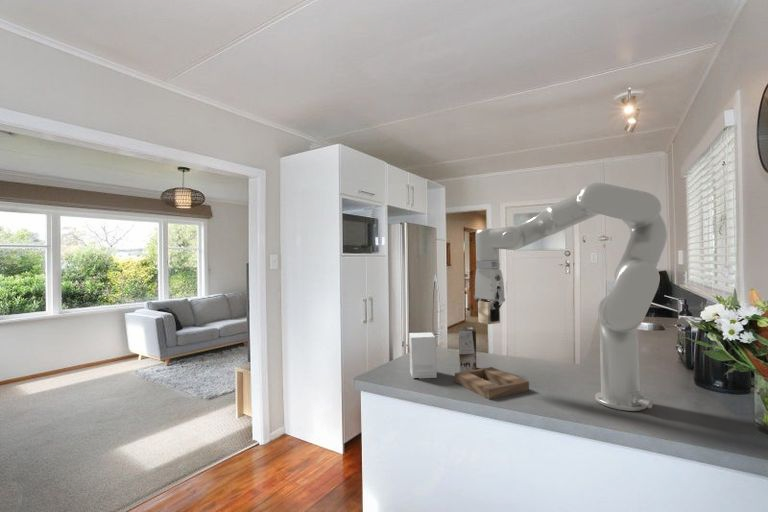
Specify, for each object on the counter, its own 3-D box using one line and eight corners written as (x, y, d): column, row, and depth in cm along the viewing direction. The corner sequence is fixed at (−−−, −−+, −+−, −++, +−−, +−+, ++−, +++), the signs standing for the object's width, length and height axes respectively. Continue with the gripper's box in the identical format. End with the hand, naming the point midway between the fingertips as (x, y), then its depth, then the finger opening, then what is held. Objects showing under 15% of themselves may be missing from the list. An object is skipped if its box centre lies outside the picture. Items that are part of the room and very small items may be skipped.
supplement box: (433, 370, 143) (432, 331, 143) (437, 378, 134) (436, 336, 134) (409, 371, 143) (408, 332, 143) (411, 379, 134) (411, 337, 134)
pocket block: (529, 390, 120) (528, 381, 120) (488, 399, 113) (488, 389, 113) (491, 375, 136) (491, 367, 136) (454, 381, 130) (454, 373, 130)
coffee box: (477, 374, 138) (476, 330, 138) (459, 373, 139) (458, 330, 139) (476, 367, 147) (475, 326, 147) (459, 366, 148) (458, 325, 148)
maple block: (500, 322, 124) (499, 301, 124) (488, 324, 122) (487, 302, 122) (490, 320, 128) (489, 300, 128) (478, 322, 126) (477, 301, 126)
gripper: (514, 265, 119) (516, 322, 119) (480, 265, 134) (482, 315, 134) (495, 266, 116) (497, 325, 116) (463, 265, 131) (464, 317, 131)
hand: (489, 319), depth 125 cm, fingers closed on maple block, 5 cm apart
